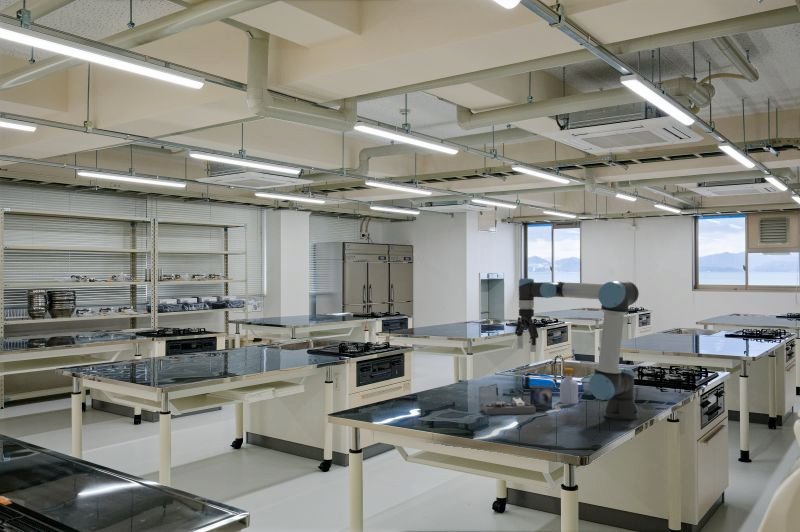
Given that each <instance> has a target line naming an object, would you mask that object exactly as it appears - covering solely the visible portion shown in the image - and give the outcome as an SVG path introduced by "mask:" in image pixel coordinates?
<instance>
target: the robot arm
mask: <svg viewBox="0 0 800 532" xmlns="http://www.w3.org/2000/svg"><path fill="white" fill-rule="evenodd" d="M639 292H640V291H639V288H638V287H637V285H636V284H635V283H634V282H632V281H629V280H611V281H607V282H605V283H587V282H585V283H584V282H565V281H564V282H563V281H552V282H551V281H549V282H544V281H543V282H535V281H534V279H533V278H530V277H529V278H528V277H527V278H519V280H518V308H519V309H518V317H517V322H516V326H515V332H514V334H515V335H516V336H517V337H516V338H517V343H516V344H517V345H516V346H517V347H516V348H517V349H518V350H519V349H520V350H521V349H522V350H523V349H524V340H523V339H524V335H523V334H524V331H525V329H527V331H528V333H529V336H530V338H529V344H530V345H529V346H530V347H529V349H530V350H529V351H530V353H536V352H537V347H536V346H537V339H538V338H539V334H538V329H537V324H536V319H535V318H532V317H534V316H535V309H534V308H535V306H534V305H535V301H534V299H535V298H544V299H549V298H574V299H587V300H588V299H589V300H598V301H599V302H600V304H601V308H600V309H601V311H602V312H603V321H602V332H601V339H600V340H601V342H600V347H599V348H600V350H599V358H598V364H597V365H596V366H594V371H593V372H594V373H593V375H592V376H591V377H590V378H589V381H588V388H589V391H590V392H591V394H592V395H593V396H594V397H595V398H597V399H599V400H603V401H604V400H607V401H606V405H605V408H604V410H603V411H604V415H603V416H604V417H606V418H608V419H611V418H613V419H612V420H617V419H634V420H637V419H639V412H638V409H637V408H638V407H637V405H636V403H635V375H634V370H633V369H631V368H624V367H619V365H620V355H621V348H622V347H621V345H622V337H623V328H624V321H625V319H624V318H625V315H627V314H628V313H629V306H632V305H633V304H635V303H636V302H637V301H638V298H639V295H640V294H639ZM636 418H637V419H636Z"/></svg>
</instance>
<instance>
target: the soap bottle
mask: <svg viewBox="0 0 800 532" xmlns="http://www.w3.org/2000/svg"><path fill="white" fill-rule="evenodd" d="M572 357H573V356H572V355H568V356H565V357H563V358H562V368H563V370H564V371H565V372H566V373H565V378H564V379H563V380H561V381H560V383H559V402H560V403H561V404H565V405H577V404H578V403H579V384H578V382H577V381H576V380H574V379H573V374H572V373H571V372H572V371H574V368H572V367H570V368H569V367H568V368H566V367H565V360H568V359H570V358H572Z"/></svg>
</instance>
